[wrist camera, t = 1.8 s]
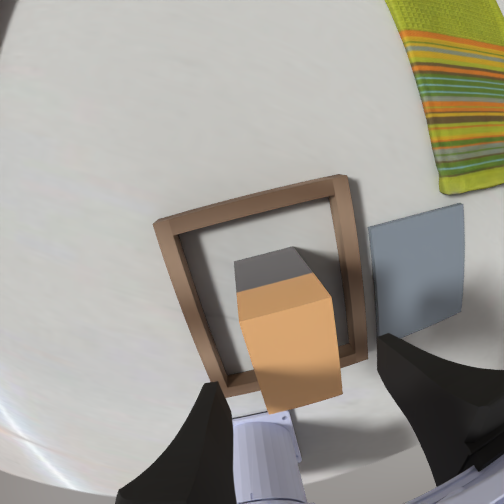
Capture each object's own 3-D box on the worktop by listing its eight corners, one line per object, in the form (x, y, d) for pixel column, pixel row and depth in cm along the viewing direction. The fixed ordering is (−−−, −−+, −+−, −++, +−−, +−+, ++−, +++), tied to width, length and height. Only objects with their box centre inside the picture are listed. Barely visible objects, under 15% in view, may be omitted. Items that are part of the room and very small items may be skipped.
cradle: (361, 348, 23) (367, 358, 22) (218, 386, 23) (218, 399, 22) (338, 174, 19) (347, 175, 18) (158, 219, 19) (152, 224, 17)
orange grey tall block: (307, 322, 22) (342, 394, 14) (255, 336, 22) (268, 414, 14) (292, 246, 20) (331, 297, 13) (233, 261, 20) (238, 321, 13)
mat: (458, 309, 23) (461, 311, 23) (377, 343, 23) (379, 346, 23) (459, 202, 20) (463, 204, 20) (367, 227, 20) (371, 228, 20)
